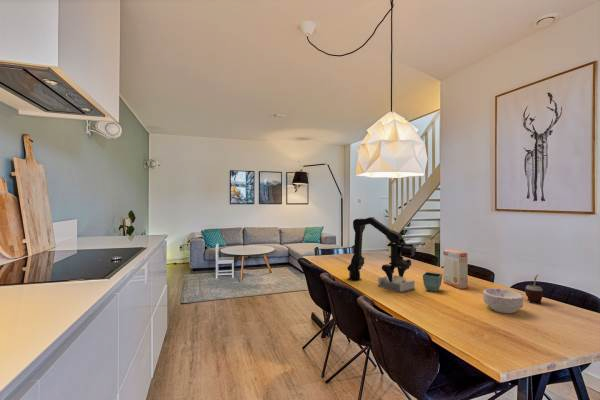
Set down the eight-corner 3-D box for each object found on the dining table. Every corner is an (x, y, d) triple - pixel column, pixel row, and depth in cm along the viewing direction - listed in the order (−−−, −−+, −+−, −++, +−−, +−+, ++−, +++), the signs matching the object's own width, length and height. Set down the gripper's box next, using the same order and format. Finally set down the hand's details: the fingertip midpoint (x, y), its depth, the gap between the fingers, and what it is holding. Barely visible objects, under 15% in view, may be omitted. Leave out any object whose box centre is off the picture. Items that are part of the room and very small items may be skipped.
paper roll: (385, 284, 176) (385, 274, 176) (392, 283, 179) (392, 273, 179) (400, 288, 167) (400, 278, 167) (406, 287, 171) (406, 276, 171)
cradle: (378, 286, 177) (378, 277, 177) (391, 282, 183) (391, 274, 183) (401, 293, 163) (401, 284, 163) (414, 289, 170) (414, 280, 170)
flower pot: (439, 293, 162) (439, 277, 162) (422, 290, 167) (422, 274, 167) (442, 289, 169) (442, 273, 169) (426, 287, 174) (426, 271, 174)
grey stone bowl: (505, 317, 128) (505, 299, 128) (475, 305, 143) (475, 289, 143) (531, 314, 132) (531, 296, 132) (500, 302, 147) (500, 286, 147)
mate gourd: (531, 299, 152) (531, 270, 152) (548, 304, 144) (548, 273, 144) (521, 300, 150) (521, 271, 150) (538, 306, 142) (537, 274, 142)
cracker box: (468, 288, 170) (468, 252, 170) (459, 289, 169) (458, 253, 169) (451, 282, 184) (451, 248, 184) (443, 282, 183) (442, 249, 183)
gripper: (397, 258, 161) (397, 286, 161) (417, 254, 172) (417, 281, 172) (381, 255, 171) (381, 282, 170) (401, 252, 181) (401, 277, 181)
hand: (396, 280), depth 173 cm, fingers open, 9 cm apart
